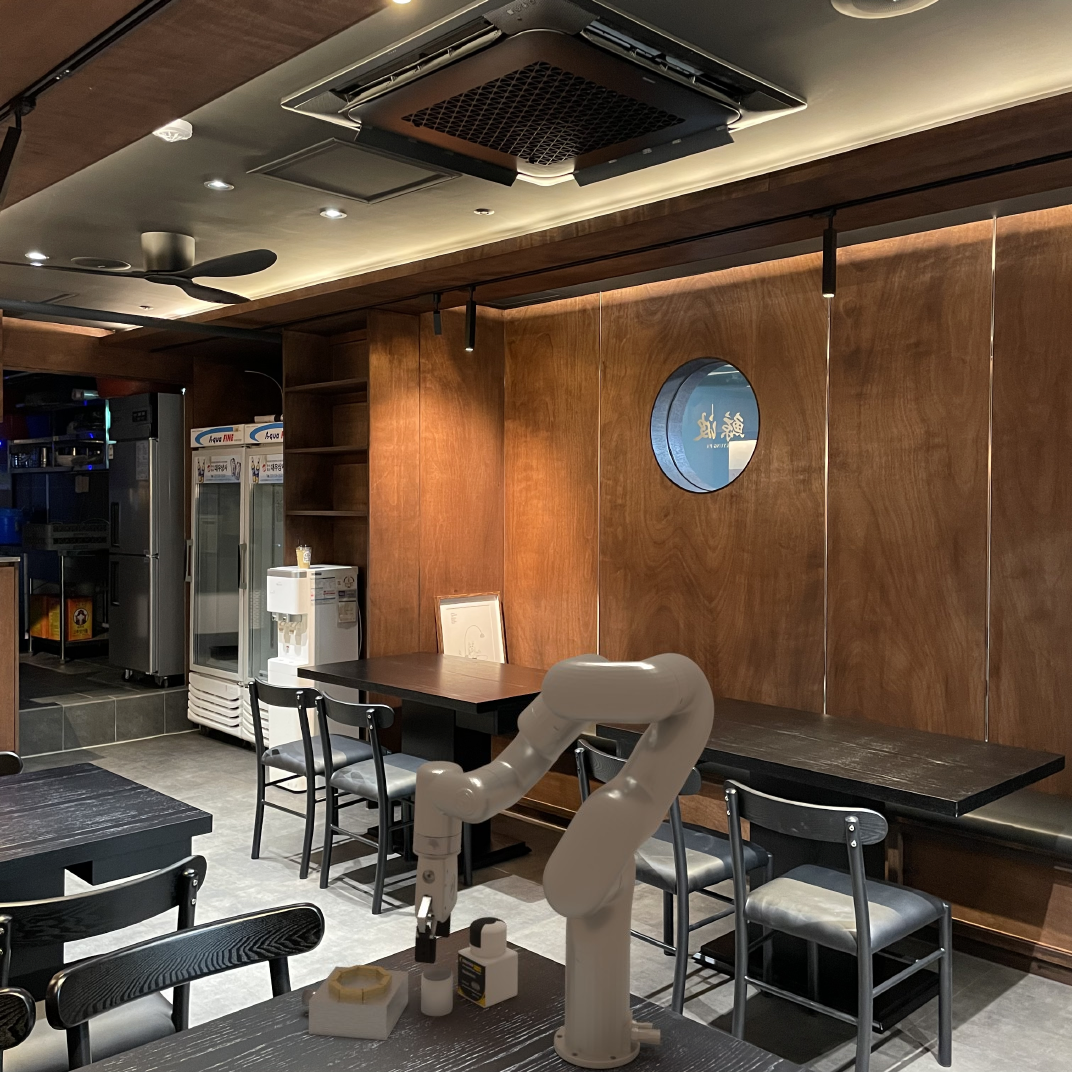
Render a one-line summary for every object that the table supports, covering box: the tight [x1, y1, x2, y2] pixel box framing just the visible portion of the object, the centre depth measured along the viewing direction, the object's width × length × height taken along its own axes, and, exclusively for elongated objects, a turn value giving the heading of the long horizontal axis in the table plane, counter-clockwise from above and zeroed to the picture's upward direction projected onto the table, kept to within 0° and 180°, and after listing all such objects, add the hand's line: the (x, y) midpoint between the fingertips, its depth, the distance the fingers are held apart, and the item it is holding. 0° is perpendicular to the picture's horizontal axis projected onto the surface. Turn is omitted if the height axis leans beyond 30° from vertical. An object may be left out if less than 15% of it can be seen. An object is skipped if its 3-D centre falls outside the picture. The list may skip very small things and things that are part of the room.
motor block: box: [301, 964, 409, 1041], centre depth 156 cm, size 15×12×6 cm
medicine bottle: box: [457, 916, 519, 1009], centre depth 164 cm, size 7×7×12 cm
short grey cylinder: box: [420, 964, 454, 1017], centre depth 159 cm, size 5×5×6 cm
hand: (432, 948), depth 159 cm, fingers open, 9 cm apart
